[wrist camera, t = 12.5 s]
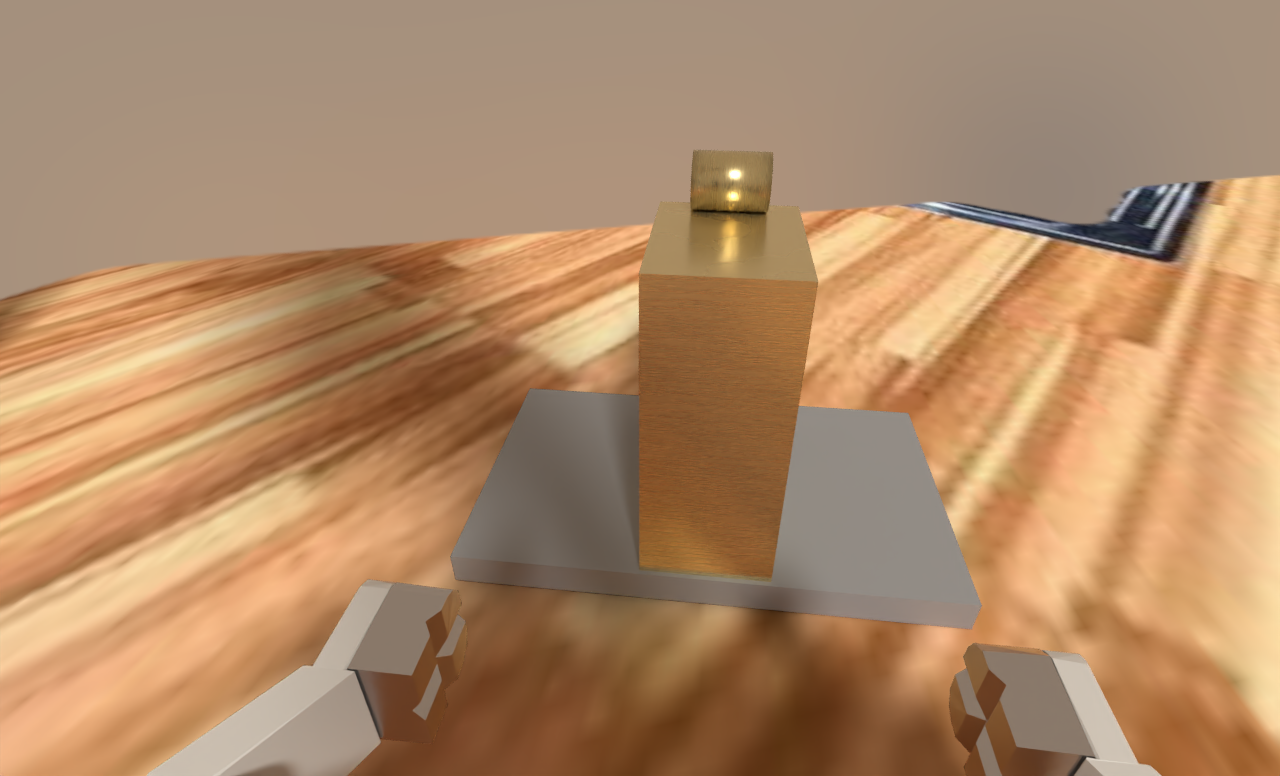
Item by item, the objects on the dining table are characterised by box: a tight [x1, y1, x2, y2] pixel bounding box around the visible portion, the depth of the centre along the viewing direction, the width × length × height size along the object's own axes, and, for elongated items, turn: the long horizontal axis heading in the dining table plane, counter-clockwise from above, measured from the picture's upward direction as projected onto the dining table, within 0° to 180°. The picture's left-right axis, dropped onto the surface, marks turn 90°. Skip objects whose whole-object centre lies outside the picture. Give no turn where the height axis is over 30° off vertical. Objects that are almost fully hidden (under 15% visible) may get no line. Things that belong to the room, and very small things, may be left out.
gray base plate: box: [450, 389, 982, 629], centre depth 25 cm, size 18×11×10 cm, turn 83°
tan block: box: [639, 150, 818, 582], centre depth 22 cm, size 4×6×13 cm
